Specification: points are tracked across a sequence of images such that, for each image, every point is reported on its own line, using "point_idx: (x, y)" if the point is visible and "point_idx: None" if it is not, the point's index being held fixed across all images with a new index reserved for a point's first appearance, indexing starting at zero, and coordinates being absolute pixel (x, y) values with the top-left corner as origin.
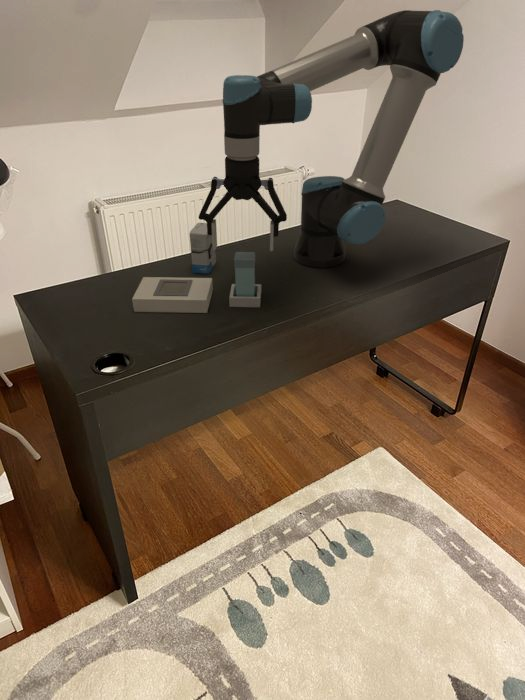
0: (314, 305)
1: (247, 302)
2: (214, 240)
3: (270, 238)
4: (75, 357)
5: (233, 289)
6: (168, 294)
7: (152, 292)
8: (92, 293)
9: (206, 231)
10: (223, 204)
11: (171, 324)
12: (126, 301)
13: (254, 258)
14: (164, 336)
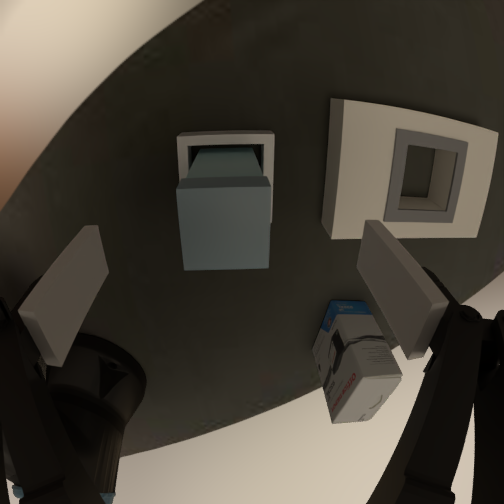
0: (51, 163)
1: (217, 132)
2: (389, 241)
3: (69, 258)
4: None
5: None
6: (440, 139)
7: (467, 159)
8: None
9: (358, 391)
10: (431, 440)
11: (407, 53)
12: None
13: (179, 216)
14: (412, 8)
